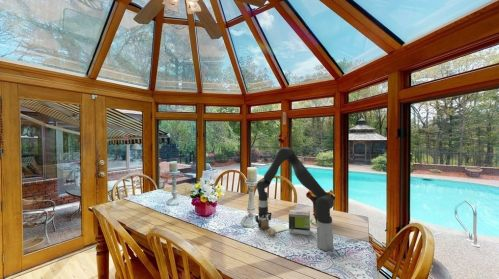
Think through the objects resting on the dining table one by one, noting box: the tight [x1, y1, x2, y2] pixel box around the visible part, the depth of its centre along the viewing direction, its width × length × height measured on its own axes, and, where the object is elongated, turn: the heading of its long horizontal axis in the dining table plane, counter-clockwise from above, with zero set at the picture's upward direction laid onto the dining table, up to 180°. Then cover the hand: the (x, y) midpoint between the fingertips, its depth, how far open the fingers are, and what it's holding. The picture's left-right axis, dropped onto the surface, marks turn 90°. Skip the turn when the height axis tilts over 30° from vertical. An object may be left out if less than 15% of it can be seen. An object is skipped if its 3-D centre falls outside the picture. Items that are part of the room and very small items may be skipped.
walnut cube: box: [257, 218, 270, 231], centre depth 178 cm, size 6×6×6 cm
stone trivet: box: [269, 222, 289, 234], centre depth 177 cm, size 12×12×1 cm
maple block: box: [266, 228, 276, 237], centre depth 166 cm, size 4×4×4 cm
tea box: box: [288, 209, 311, 236], centre depth 170 cm, size 15×10×15 cm, turn 74°
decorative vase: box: [305, 189, 336, 227], centre depth 187 cm, size 21×23×28 cm
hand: (263, 226), depth 178 cm, fingers closed on walnut cube, 6 cm apart
